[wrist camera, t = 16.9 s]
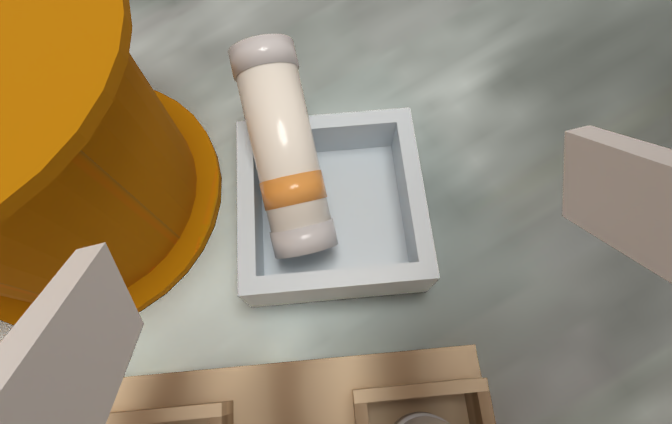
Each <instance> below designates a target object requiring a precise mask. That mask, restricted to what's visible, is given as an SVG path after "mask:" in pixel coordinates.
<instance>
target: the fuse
mask: <svg viewBox="0 0 672 424" xmlns="http://www.w3.org/2000/svg"><path fill="white" fill-rule="evenodd" d="M394 424H450V423H449V422H447V421H446V420H444V419H443V418H441V417H438V416H436V415H433V414H431V413H427V412H411V413H408V414H406V415H404V416H402V417H401V418H399V419H398V420H397V421H396V422H395V423H394Z"/></svg>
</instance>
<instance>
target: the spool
mask: <svg viewBox="0 0 672 424" xmlns="http://www.w3.org/2000/svg"><path fill="white" fill-rule="evenodd" d="M131 34H132V21H131V13H130V5H129V0H0V320H2V321H4V322H7V323H9V324H12V325H15V324H16V323H17V321H18V320H19V319H20V318H21V316H22V315H23V314H24V313H25V312H26V310H27V309H28V308H29V307H30V305H31V304H32V303H33V302H34V301H35V299H36V298H37V297H38V296H39V294H40V293H41V292H42V291H43V289H44V288H45V287H46V286H47V285H48V283H49V282H50V281H51V280H52V278H53V277H54V276H55V275H56V274H57V272H58V271H59V270H60V269H61V267H62V266H63V265H64V264H65V262H66V261H67V260H68V259H69V258H70V256H71V255H72V254H73V253H74V251H75V250H76V249H80V248H84V247H88V246H92V245H96V244H100V243H104V242H106V244H107V247H108V249H109V251H110V253H111V255H112V257H113V259H114V261H115V264H116V266H117V268H118V270H119V272H120V274H121V276H122V278H123V281H124V283H125V285H126V287H127V289H128V291H129V293H130V295H131V298H132V300H133V302H134V304H135V306H136V308H137V310H138V312H140V311H142V310H143V309H145V308H146V307H147V306H149V305H150V304H152V303H153V302H155V301H156V300H158V299H159V298H160V297H162V296H163V295H165V294H166V293H167V292H168V291H169V290H170V289H171V288H172V287H173V286H174V285H175V284H176V283H177V282H178V281H179V280H180V279H181V278H182V277H183V276H184V275H185V274H187V272H188V271H189V270H190V268H191V267H192V265H193V264H194V263H195V261H196V260H197V258H198V257H199V256H200V254H201V253H202V251H203V250H204V248H205V246H206V243H207V241H208V239H209V237H210V235H211V233H212V231H213V228H214V226H215V223H216V219H217V215H218V211H219V207H220V202H221V179H222V178H221V173H220V167H219V162H218V157H217V154H216V152H215V150H214V148H213V145H212V143H211V141H210V139H209V136H208V135H207V133H206V131H205V130H204V129H203V127H202V126H201V125H200V123H199V122H198V121H197V119H196V118H195V117H194V115H193V114H191V113H190V112H189V111H188V110H187V109H185V108H184V107H183V106H182V105H181V104H179V103H178V102H177V101H175V100H173V99H171V98H169V97H167V96H166V95H164V94H162V93H160V92H158V91H155V90H153V89H152V87H151V86H150V84H149V83H148V81H147V80H146V78H145V76H144V75H143V73H142V72H141V70H140V69H139V67H138V66H137V64H136V63H135V61H134V59H133V58H132V56H131V55H130V53H129V49H130V41H131Z"/></svg>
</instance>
